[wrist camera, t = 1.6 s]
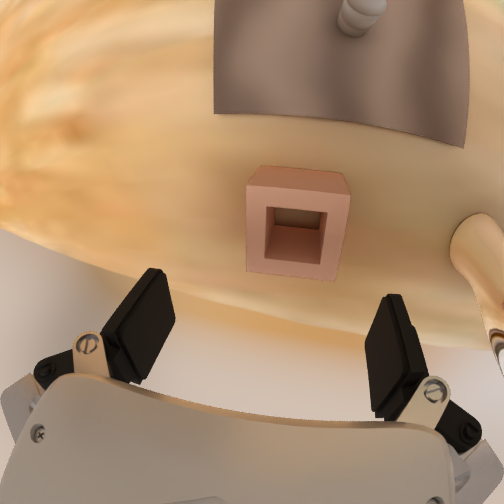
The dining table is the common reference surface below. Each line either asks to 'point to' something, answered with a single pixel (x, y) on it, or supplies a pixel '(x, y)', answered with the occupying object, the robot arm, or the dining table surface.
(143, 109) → the dining table surface
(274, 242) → the bead
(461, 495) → the robot arm
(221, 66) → the brown peg stand
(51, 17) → the dining table surface
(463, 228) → the beer glass
